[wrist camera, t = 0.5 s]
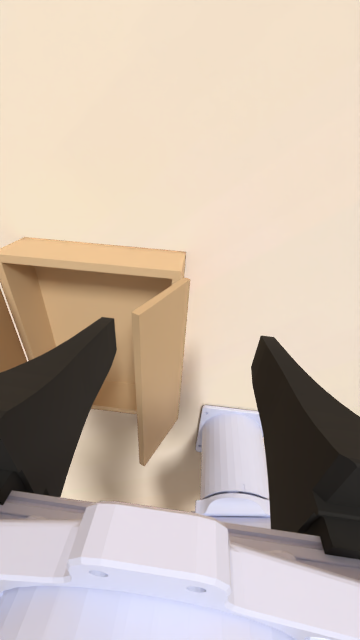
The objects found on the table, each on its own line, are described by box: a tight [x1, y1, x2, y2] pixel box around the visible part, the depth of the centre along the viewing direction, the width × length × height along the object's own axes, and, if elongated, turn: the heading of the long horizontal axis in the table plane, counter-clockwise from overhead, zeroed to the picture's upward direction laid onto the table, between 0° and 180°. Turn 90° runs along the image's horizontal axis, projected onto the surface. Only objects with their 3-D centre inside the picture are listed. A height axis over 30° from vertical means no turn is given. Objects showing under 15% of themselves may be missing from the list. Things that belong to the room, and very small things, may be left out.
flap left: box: [0, 289, 27, 373], centre depth 20 cm, size 15×6×1 cm
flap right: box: [131, 278, 190, 466], centre depth 20 cm, size 15×6×1 cm
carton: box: [0, 237, 186, 414], centre depth 24 cm, size 16×13×4 cm
